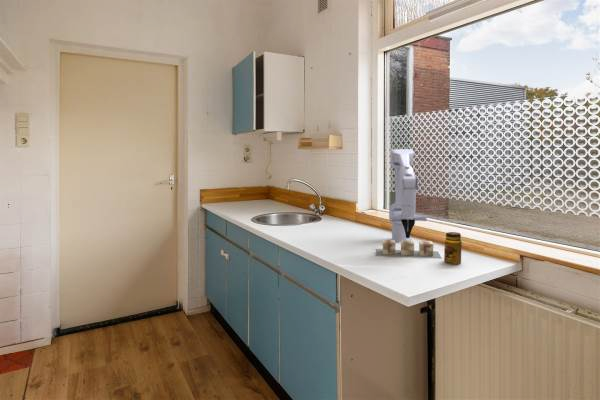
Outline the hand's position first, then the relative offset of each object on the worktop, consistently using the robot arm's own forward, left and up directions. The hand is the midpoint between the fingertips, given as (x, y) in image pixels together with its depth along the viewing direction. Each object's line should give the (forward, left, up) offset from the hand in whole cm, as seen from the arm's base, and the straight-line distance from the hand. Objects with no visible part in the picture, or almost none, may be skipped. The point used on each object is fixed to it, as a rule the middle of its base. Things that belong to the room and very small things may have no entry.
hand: (407, 237), depth 160 cm
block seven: (-4, +7, -7) cm, 10 cm away
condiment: (+1, +19, -8) cm, 21 cm away
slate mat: (0, 0, -7) cm, 7 cm away
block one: (+3, -7, -7) cm, 10 cm away
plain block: (0, 0, -7) cm, 7 cm away
